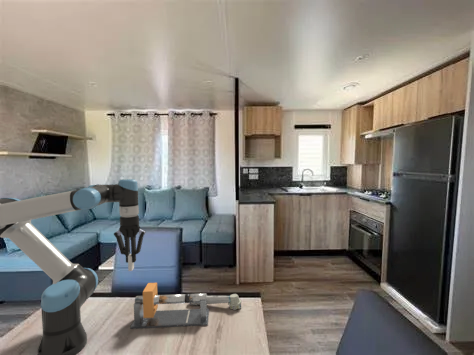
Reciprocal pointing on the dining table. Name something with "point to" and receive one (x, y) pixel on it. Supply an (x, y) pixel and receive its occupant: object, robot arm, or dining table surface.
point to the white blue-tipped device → (224, 301)
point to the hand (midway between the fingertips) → (131, 269)
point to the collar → (149, 300)
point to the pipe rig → (172, 312)
